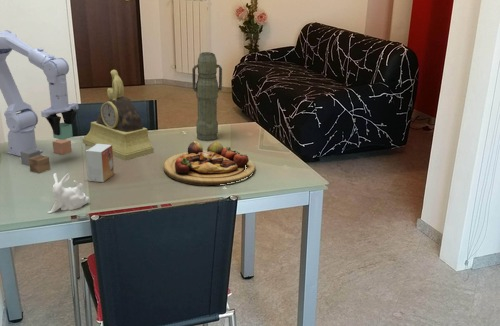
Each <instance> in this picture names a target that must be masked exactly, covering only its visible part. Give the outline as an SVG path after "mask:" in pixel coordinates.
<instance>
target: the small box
mask: <svg viewBox="0 0 500 326" xmlns="http://www.w3.org/2000/svg"><path fill="white" fill-rule="evenodd" d="M85 158H86V161H85V162H86V169H87V171H86V172H87V180H88V182H96V183H97V182H98V183H99V182H100V183H104V182H106V181H107V180H108V179H110V178H111V177H113V176H114V174H115V169H114V156H113V150H112V145H107V144H96V145H95V146H93V147H91V146H90V148H88V149H86V150H85Z"/></svg>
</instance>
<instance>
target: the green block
mask: <svg viewBox="0 0 500 326" xmlns="http://www.w3.org/2000/svg"><path fill="white" fill-rule="evenodd" d="M52 135H53V138H54V139H56V140H59V139H61V140H64V139H66V140H68V139H70V138H73V137H74V136H73V124H72V125H71V124H67V123H64V122H60V135H55V134H54V132H53V131H52Z"/></svg>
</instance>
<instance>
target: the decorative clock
mask: <svg viewBox="0 0 500 326" xmlns="http://www.w3.org/2000/svg"><path fill="white" fill-rule="evenodd" d="M110 75H111V83H112V84H111V86H112V87H108V88H107V94H106V95H107V98H108V101H105V102H103V103H102V105H101V107H100V112H99V114H98V115H97V119H96V121H91V122H90V129H89V131H88V133H87V134H86V135H85V136H84V137H82V144H84V143H85V144H84V145H86V144H87V146H89V147H90V148H91V147H93V146H95V145H96V144H107V145H112V150H113V157H115V158H118V159H121V160H123V161H129V160H133V159H135V158H138V157H142V156H145V155H146V156H147V155H149V154H153V153H154V147H153V144H152V143H151V141H150V138H149V130H148V128H146V127H143V123H142V120H141V117H140V115H139V112H138V110H137V108H136V107H135V105H134V104H133V102H132V100H131V99H130V98H129V97H127V96H125V86H124V82H123V80H122V79H121V77H120V75H119V73H118V71H117V69H112V70H111V71H110Z"/></svg>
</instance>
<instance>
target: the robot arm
mask: <svg viewBox="0 0 500 326" xmlns="http://www.w3.org/2000/svg"><path fill="white" fill-rule="evenodd" d="M12 51H14V52H16V53H18V54H21V55H22V56H25V57H27V59H28V62H29V63H30V64H32V65H33V66H35V67H36V68H39V69H41V70H42V71H43V73H44V75H45V76H46V77H45V78H46V81H47V83H48V89H49V90H48V91H49V98H50V99H49V100H50V107H49V108H46V109H43V110H41V111H40V112H41V113H40V115H41V117H42V118H45V119H46V120H47V122H48V123H49V125H50V127H51V130H52V133H53V132H54V134H55V135H60V123H61V119H62V120H63V123H67V124H71V125H72V126H73V123H74V120H75V117H76V115H77V111H76V110H78V109H79V103H75V102H71V103H69V92H68V84H67V74H69V71H70V65H69V63H68V61H66V59H65V58H62V57H55V55H53V54H50V53H48V52H46V51H45V50H44V48H42V47H35V48H33V47H32V46H31V45H29V44H27V43H26V42H24V41H23V40H22V39H20V38H19V37H17V34H16V33H14V32H12V31H10V30H3V31H0V92H1V94H2V97H3V98H4V100H5V103H6V105H7V108H6V109H5V110H4V117H5V122H6V123H5V124H6V125H7V128H8V129H9V131H8V133H7V142H8V148H9V150H8V151H7V153H8V154H9V155H13V156H17V157H21V154H20V152H21V151H24V150H27V149H31V148H32V149H36V150H39V151H40V153H42V152H43V150H42V149H37V140H36V133H35V129H36V125H37V124H38V122H39V117H38V115H37V113H36V111H35V110H34V109H33V107H32V105H30V104H29V103H27V102H25V101H24V99H23V97H22V95H21V93H20V90H19V87H18V86H17V84H16V81H15V79H14V77H13V75H12V73H11V70H10V68H9V66H8V64H7V61H6V59H7V57H8V56H10V53H12ZM58 114H59V115H60V114H61V116H62V117H61V116H58Z"/></svg>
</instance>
